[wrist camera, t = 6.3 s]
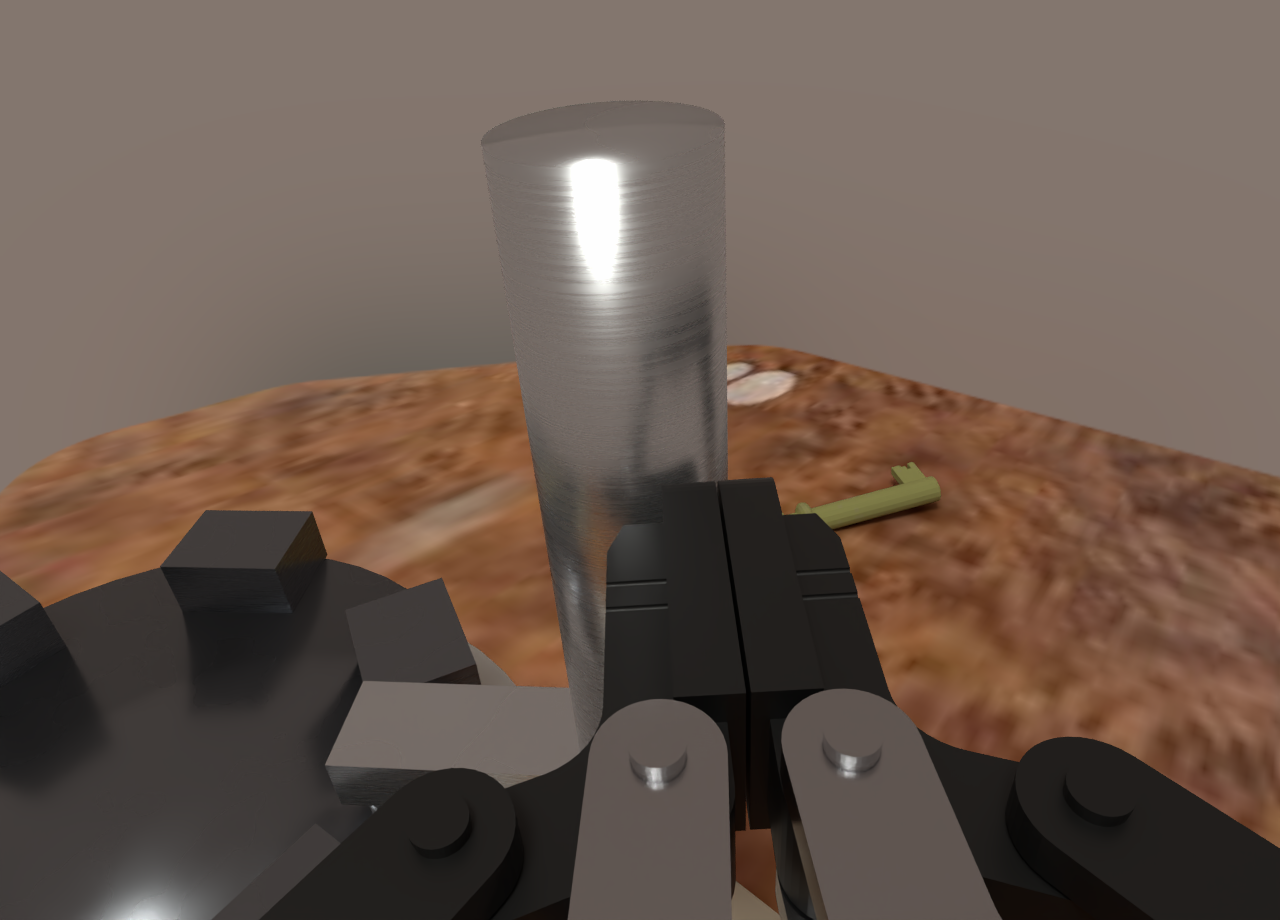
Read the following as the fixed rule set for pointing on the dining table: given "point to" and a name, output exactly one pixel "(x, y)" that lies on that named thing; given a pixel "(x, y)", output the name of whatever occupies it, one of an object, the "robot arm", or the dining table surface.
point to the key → (879, 499)
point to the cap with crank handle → (368, 602)
